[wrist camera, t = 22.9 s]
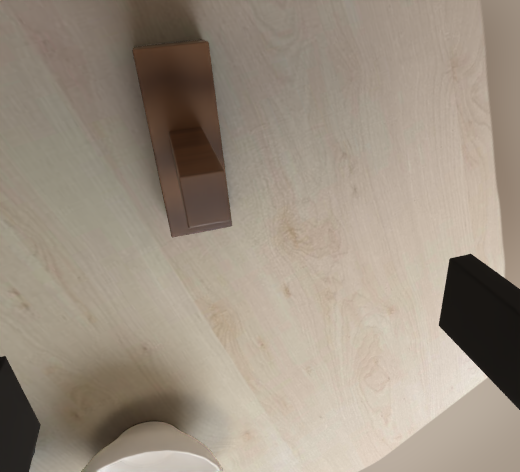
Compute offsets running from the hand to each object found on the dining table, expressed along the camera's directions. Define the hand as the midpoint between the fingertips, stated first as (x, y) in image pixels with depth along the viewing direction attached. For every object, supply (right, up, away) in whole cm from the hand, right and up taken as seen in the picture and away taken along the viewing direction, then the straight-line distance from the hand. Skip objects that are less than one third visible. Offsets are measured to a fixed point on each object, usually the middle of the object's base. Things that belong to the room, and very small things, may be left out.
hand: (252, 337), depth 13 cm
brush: (-6, +11, +21) cm, 25 cm away
